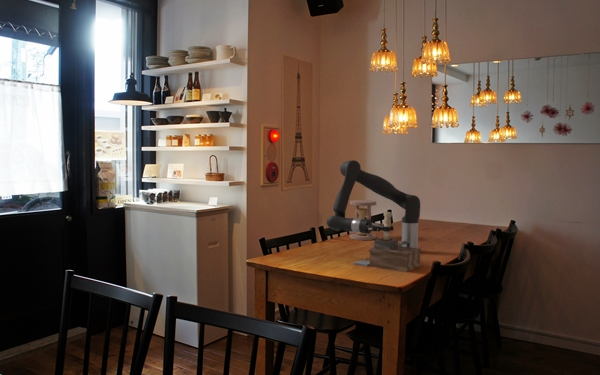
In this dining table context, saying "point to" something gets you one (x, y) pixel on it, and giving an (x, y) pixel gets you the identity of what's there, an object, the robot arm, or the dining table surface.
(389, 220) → the pin
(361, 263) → the mat
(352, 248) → the dining table surface
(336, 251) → the dining table surface
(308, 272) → the dining table surface
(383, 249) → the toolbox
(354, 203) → the hourglass
